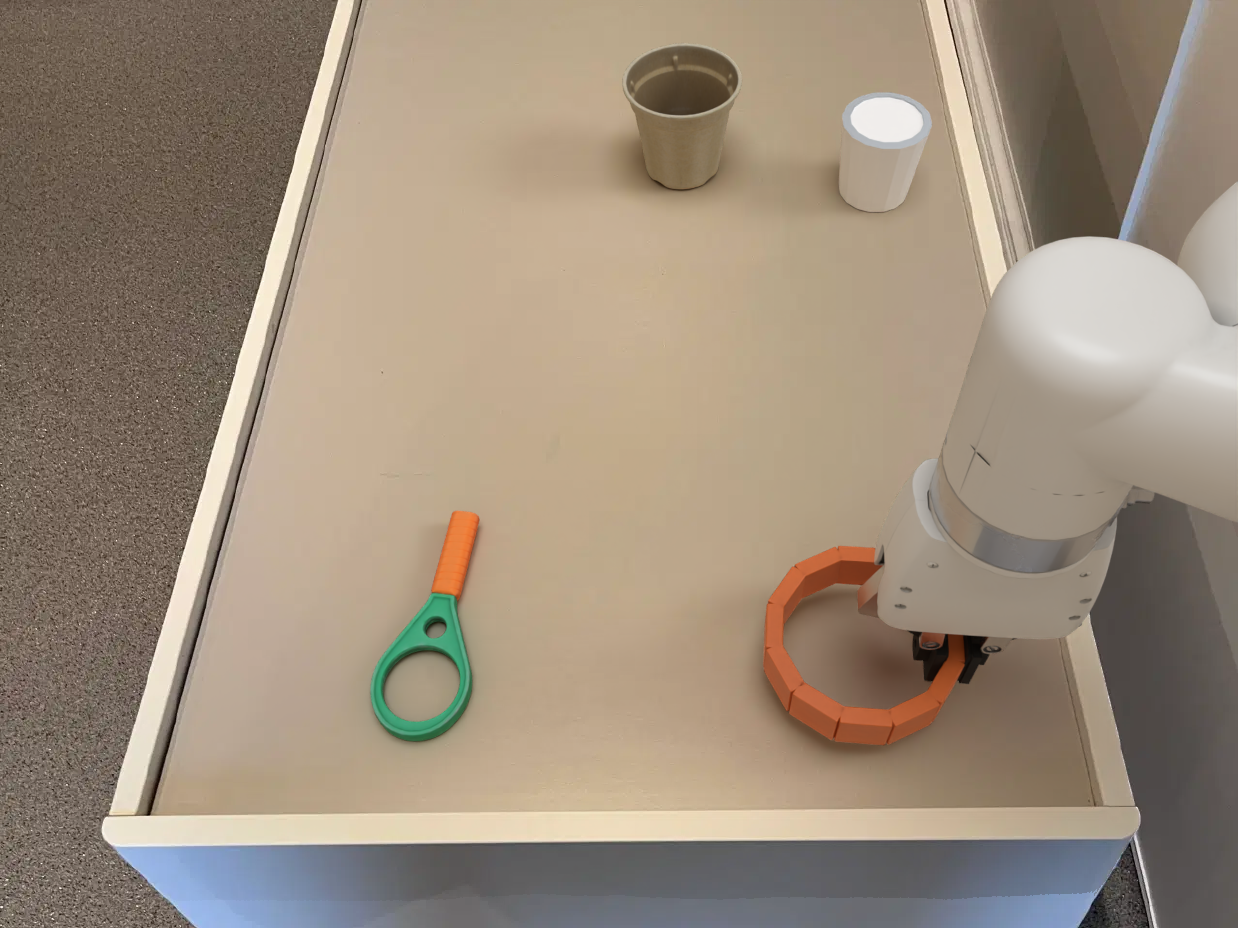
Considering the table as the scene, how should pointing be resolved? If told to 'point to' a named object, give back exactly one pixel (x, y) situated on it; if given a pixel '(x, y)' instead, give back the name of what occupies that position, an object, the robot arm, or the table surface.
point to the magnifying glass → (450, 643)
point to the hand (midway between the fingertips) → (944, 658)
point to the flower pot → (682, 109)
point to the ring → (813, 704)
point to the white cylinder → (881, 149)
